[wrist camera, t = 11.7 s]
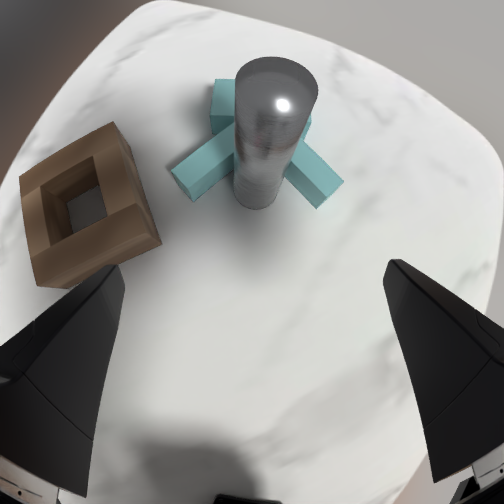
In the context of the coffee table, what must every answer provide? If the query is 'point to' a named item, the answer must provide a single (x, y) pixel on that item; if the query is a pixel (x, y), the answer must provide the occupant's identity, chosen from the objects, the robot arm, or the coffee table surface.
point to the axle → (268, 125)
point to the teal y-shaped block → (222, 156)
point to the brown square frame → (97, 234)
